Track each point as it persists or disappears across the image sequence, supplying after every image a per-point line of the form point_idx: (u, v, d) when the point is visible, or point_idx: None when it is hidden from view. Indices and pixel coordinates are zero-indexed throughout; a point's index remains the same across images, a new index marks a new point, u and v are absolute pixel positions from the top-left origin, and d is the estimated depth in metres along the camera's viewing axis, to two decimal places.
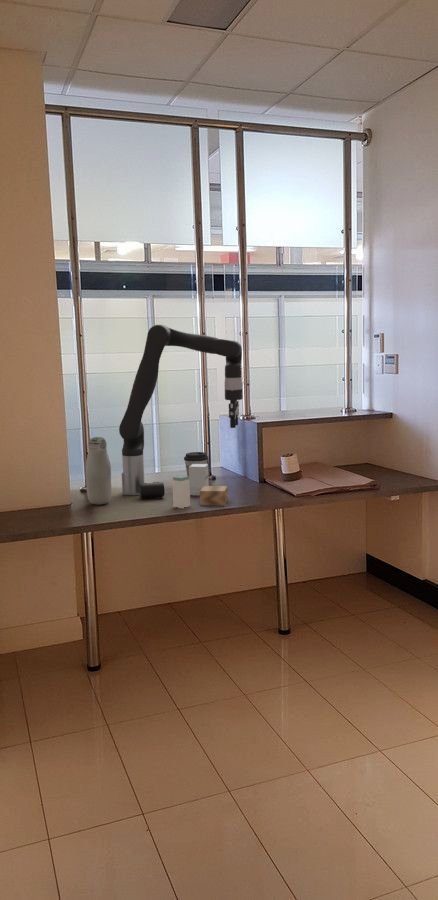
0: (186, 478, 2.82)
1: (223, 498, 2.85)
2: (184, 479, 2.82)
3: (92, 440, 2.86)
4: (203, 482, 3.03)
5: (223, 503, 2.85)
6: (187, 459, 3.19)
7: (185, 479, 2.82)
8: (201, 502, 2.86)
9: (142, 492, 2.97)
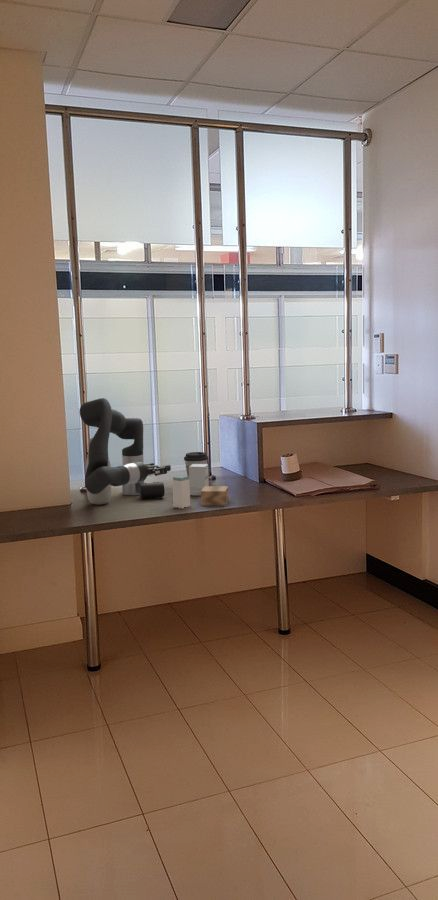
0: (186, 478, 2.82)
1: (224, 498, 2.85)
2: (184, 479, 2.82)
3: None
4: (203, 482, 3.03)
5: (224, 503, 2.85)
6: (187, 459, 3.19)
7: (185, 479, 2.82)
8: (202, 502, 2.86)
9: (142, 492, 2.97)
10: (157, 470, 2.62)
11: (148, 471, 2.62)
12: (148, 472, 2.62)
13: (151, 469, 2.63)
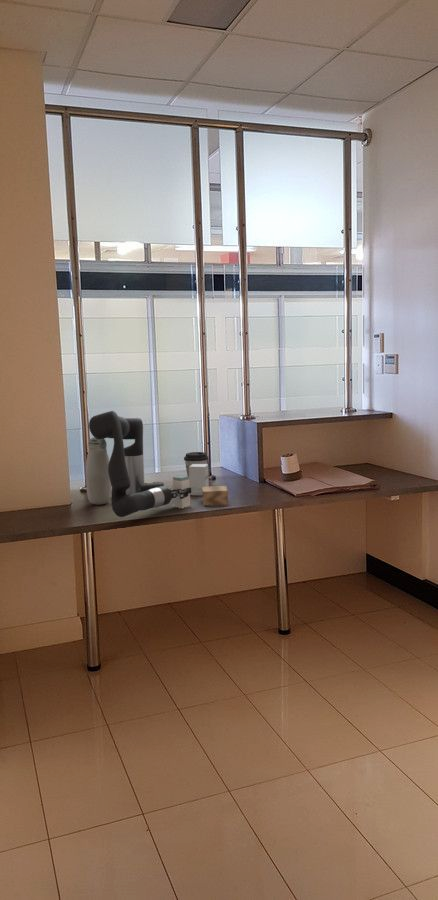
0: (186, 478, 2.82)
1: (226, 498, 2.85)
2: (184, 479, 2.82)
3: (92, 440, 2.86)
4: (203, 482, 3.03)
5: (226, 503, 2.86)
6: (187, 459, 3.19)
7: (185, 479, 2.82)
8: (204, 503, 2.85)
9: None
10: (182, 493, 2.75)
11: (172, 495, 2.74)
12: (172, 496, 2.74)
13: (175, 493, 2.75)
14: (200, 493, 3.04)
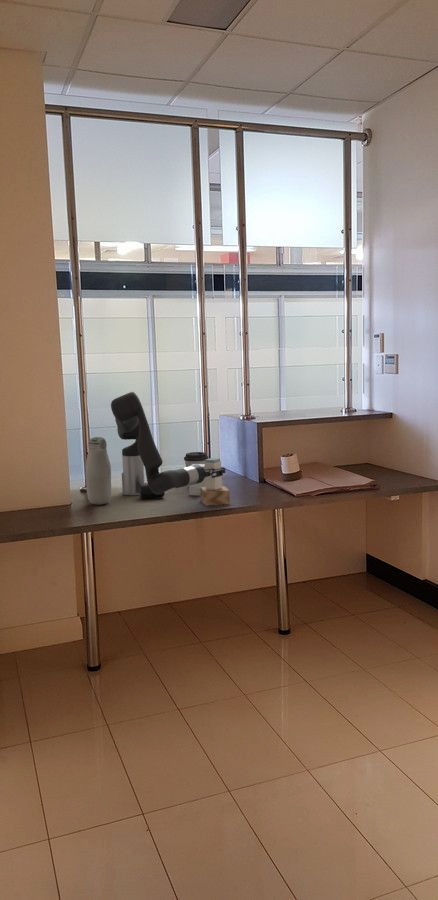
0: (218, 460, 2.88)
1: (228, 497, 2.86)
2: (216, 461, 2.87)
3: (92, 440, 2.86)
4: (203, 482, 3.03)
5: (228, 502, 2.86)
6: (187, 459, 3.19)
7: (217, 461, 2.87)
8: (206, 503, 2.84)
9: (142, 492, 2.97)
10: (214, 472, 2.79)
11: (205, 473, 2.79)
12: (205, 474, 2.79)
13: (208, 471, 2.80)
14: (200, 493, 3.04)
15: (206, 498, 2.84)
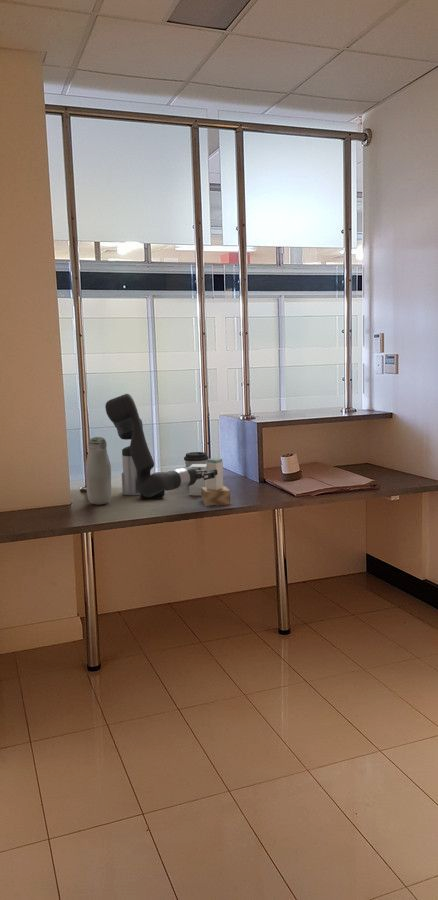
0: (220, 461, 2.87)
1: (229, 497, 2.86)
2: (218, 461, 2.86)
3: (92, 440, 2.86)
4: (203, 482, 3.03)
5: (229, 502, 2.86)
6: (187, 459, 3.19)
7: (219, 461, 2.87)
8: (207, 503, 2.84)
9: None
10: (206, 475, 2.75)
11: (197, 475, 2.75)
12: (197, 476, 2.75)
13: (200, 474, 2.76)
14: (200, 493, 3.04)
15: (207, 498, 2.84)
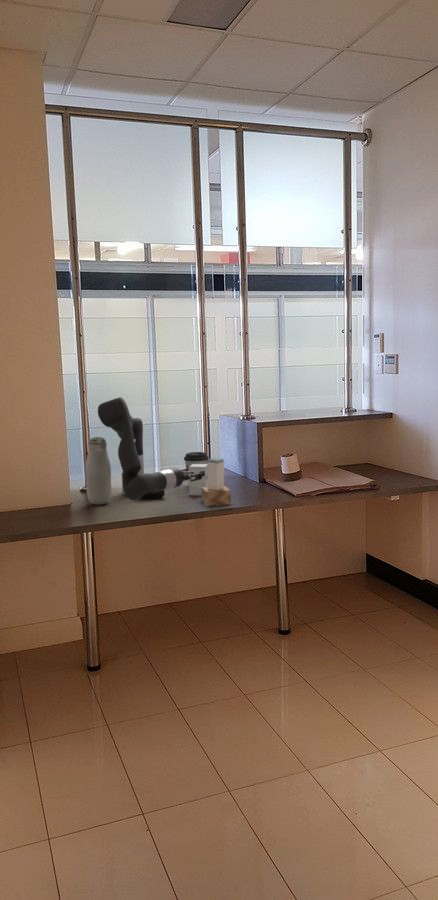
0: (221, 461, 2.87)
1: (229, 497, 2.86)
2: (219, 461, 2.86)
3: (92, 440, 2.86)
4: (203, 482, 3.03)
5: (229, 502, 2.86)
6: (187, 459, 3.19)
7: (220, 462, 2.86)
8: (207, 503, 2.84)
9: None
10: (193, 476, 2.68)
11: (184, 477, 2.69)
12: (184, 478, 2.69)
13: (187, 475, 2.70)
14: (200, 493, 3.04)
15: (207, 498, 2.84)
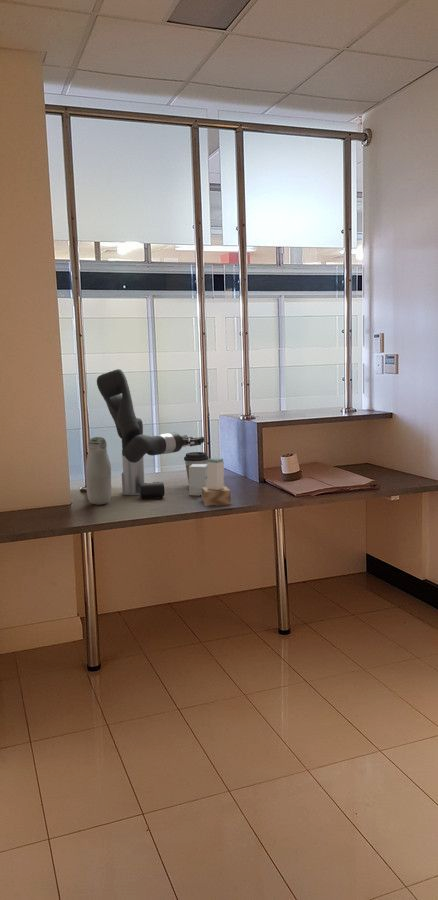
0: (221, 460, 2.87)
1: (229, 497, 2.86)
2: (219, 461, 2.86)
3: (92, 440, 2.86)
4: (203, 482, 3.03)
5: (229, 502, 2.86)
6: (187, 459, 3.19)
7: (220, 461, 2.87)
8: (207, 503, 2.84)
9: (142, 492, 2.97)
10: (192, 441, 2.67)
11: (183, 442, 2.67)
12: (183, 443, 2.67)
13: (186, 440, 2.68)
14: (200, 493, 3.04)
15: (207, 498, 2.84)
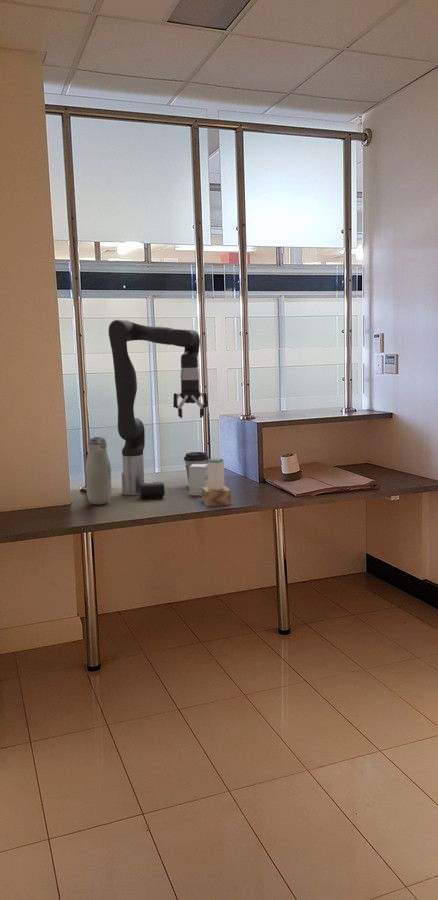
0: (221, 460, 2.87)
1: (229, 497, 2.86)
2: (219, 461, 2.86)
3: (92, 440, 2.86)
4: (203, 482, 3.03)
5: (229, 502, 2.86)
6: (187, 459, 3.19)
7: (220, 461, 2.87)
8: (207, 503, 2.84)
9: (142, 492, 2.97)
10: (206, 394, 2.93)
11: None
12: None
13: (200, 393, 2.94)
14: (200, 493, 3.04)
15: (207, 498, 2.84)
